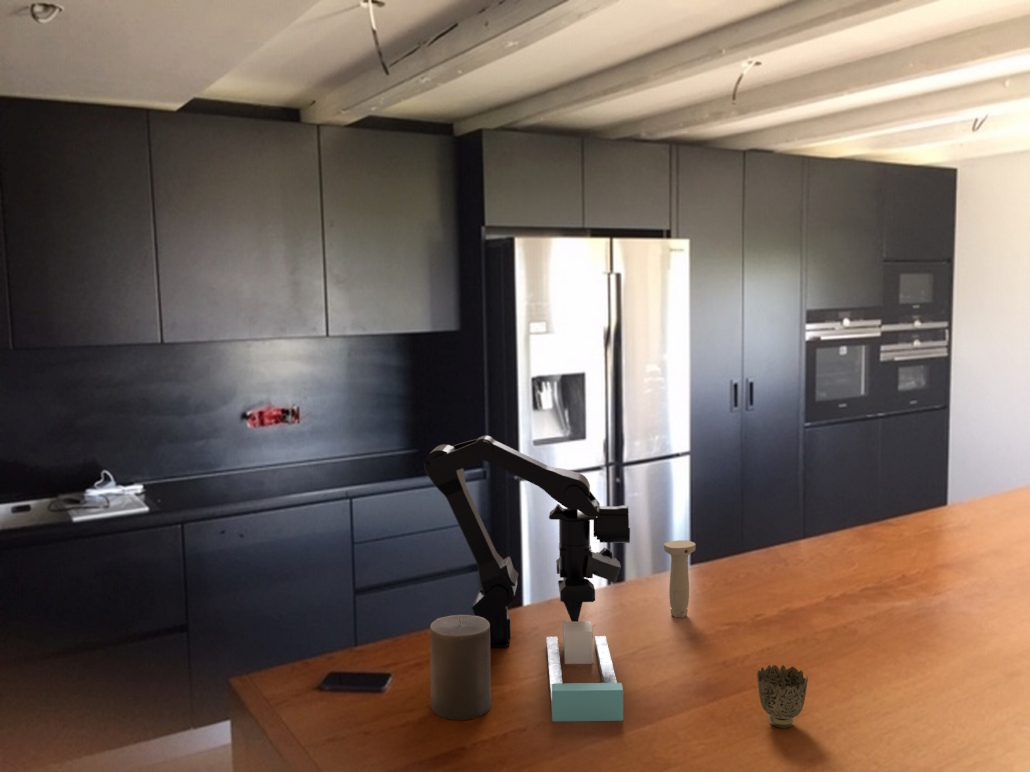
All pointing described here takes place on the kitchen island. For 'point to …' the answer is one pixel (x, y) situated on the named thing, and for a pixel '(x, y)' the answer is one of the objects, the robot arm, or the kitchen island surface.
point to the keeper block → (577, 642)
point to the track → (585, 689)
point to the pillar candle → (460, 667)
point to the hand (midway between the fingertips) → (574, 622)
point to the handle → (679, 575)
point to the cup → (782, 694)
